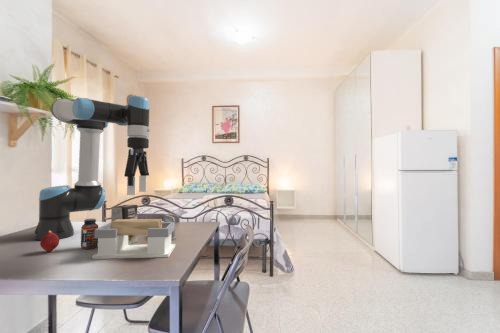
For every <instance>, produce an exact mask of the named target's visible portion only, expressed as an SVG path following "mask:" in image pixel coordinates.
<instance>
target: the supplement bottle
mask: <svg viewBox="0 0 500 333" xmlns="http://www.w3.org/2000/svg"><path fill="white" fill-rule="evenodd" d="M96 220H97V219H96V218H85V219H84V224H82V226H81V232H80V248H81V249H83V250H90V249H91V250H92V249H95V248H98V238H95V229H98V228H99V225H98V223H96V222H97V221H96Z"/></svg>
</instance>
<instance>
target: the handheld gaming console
mask: <svg viewBox="0 0 500 333" xmlns="http://www.w3.org/2000/svg"><path fill="white" fill-rule="evenodd" d="M175 219H176V218H175V217H174V216H171V215H169V214H163V222H175V223H176V220H175ZM176 240H177V237H176V227H175V228H174V231H173V232H172V233H171V241H176Z"/></svg>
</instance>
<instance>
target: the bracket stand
mask: <svg viewBox="0 0 500 333" xmlns="http://www.w3.org/2000/svg"><path fill="white" fill-rule="evenodd" d="M174 228H175V229H176V221H175V222H164V221H162V228H148V235H147V243H145V244H144V243H143V244H130V245H128V235H117V229H111V222H109V223H107V224H105V225H102V226H101V227H98V229H95V238H98V246H97V252H96V253H95V254H93V255H92V259H91V260H104V259H106V260H107V259H139V258H140V259H141V258H142V259H143V258H144V259H145V258H146V259H147V258H169V257H170V255H171V254H172V252H173V251H174V250H175V247H176V243H172V240H171V233H172V232H173V231H174Z"/></svg>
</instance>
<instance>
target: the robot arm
mask: <svg viewBox="0 0 500 333" xmlns="http://www.w3.org/2000/svg"><path fill="white" fill-rule="evenodd" d="M50 113H51V115H52V116H53V117H54V118H55V119H56V120H58V121H59V122H63V123H66V124H70V125H76V130H77V131H78V132H79V153H78V155H79V156H78V157H79V158H78V176H77V178H78V179H77V181H76V182H75V183H74V187H71V185H57V186H50V187H45V188H42V189H41V190H40V192H39V195H38V196H39V197H38V205H39V206H38V213H39V214H38V223H37V225H36V228H35V230H34V233H33V240H36V241H41V239H42V238H43V237H44V236H45V235H46V234H48V231H51V232H52V233H54V234H56V235H57V236H58V238H59V240H60V239H65V238H69V237H72V236H73V235H74V234H75V229H74V227H73V224H72V222H71V219H70V216H71V215H70V213H75V212H76V213H77V212H86V211H95V210H100V209H101V208H102V207H103V205H104V203H105V200H106V189H105V187H103V186H102V183H101V182H100V181H99V169H100V168H99V166H100V165H99V164H100V163H99V162H100V147H101V146H100V143H101V134H102V133H103V132H104V130H105V129H106V128H107V127H108V126H109V123H110V124H116V125H118V126H127V130H126V131H127V132H126V133H127V139H126V141H127V142H126V143H127V145H126V146H127V148H129V149H128V156H127V161H126V166H125V170H124V178H125V177H126V180H127V182H126V195H127V196H136V193H137V191H136V189H137V187H136V186H137V183H136V182H137V177H136V172H137V170H138V171H139V176H138V192H139V193H146V192H147V183H148V182H147V176H150V172H149V167H148V158H147V151H146V150H144V149H148V148H149V146H150V145H149V144H150V142H149V136H150V133H149V132H151V129H149V128H150V126H149V125H150V100H149V98H147V97H146V96H141V95H131V96H129V97H128V99H127V104H125V105H123V104H118V103H111V102H107V101H106V102H105V101H101V100H95V99H90V98H86V97H76V98H75V99H71V98H60V99H57V100H55V101H53V102H52V103H51V105H50Z"/></svg>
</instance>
